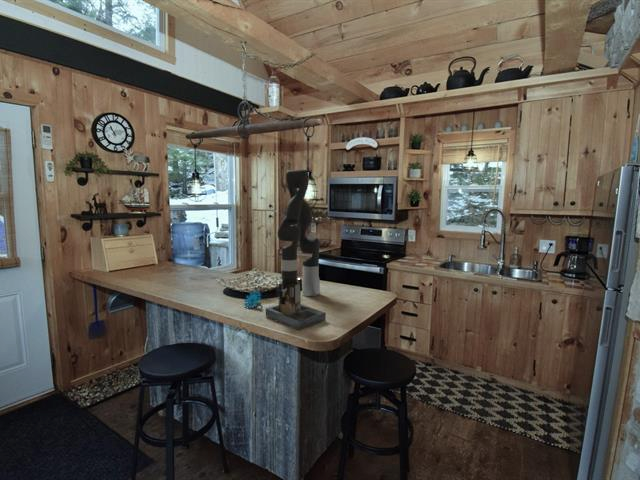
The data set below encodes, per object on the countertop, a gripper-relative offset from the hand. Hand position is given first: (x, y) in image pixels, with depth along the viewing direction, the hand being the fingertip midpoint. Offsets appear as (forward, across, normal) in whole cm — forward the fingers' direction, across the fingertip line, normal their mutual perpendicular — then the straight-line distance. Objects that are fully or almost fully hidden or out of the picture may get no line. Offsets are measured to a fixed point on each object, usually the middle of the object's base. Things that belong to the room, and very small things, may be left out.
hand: (289, 302), depth 162 cm
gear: (+7, +4, -24) cm, 25 cm away
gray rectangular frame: (+7, 0, +4) cm, 8 cm away
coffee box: (+7, 0, 0) cm, 7 cm away
